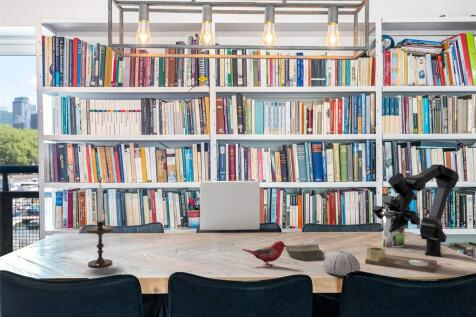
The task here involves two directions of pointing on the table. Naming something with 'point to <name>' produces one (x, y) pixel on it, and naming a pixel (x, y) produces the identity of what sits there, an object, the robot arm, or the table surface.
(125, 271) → the table surface
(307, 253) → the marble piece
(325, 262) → the sea urchin shell
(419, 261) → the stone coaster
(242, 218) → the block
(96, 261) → the candlestick
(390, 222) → the silver flared column
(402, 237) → the coffee can
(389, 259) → the walnut board
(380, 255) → the brass collar
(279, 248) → the decorative bird figurine
